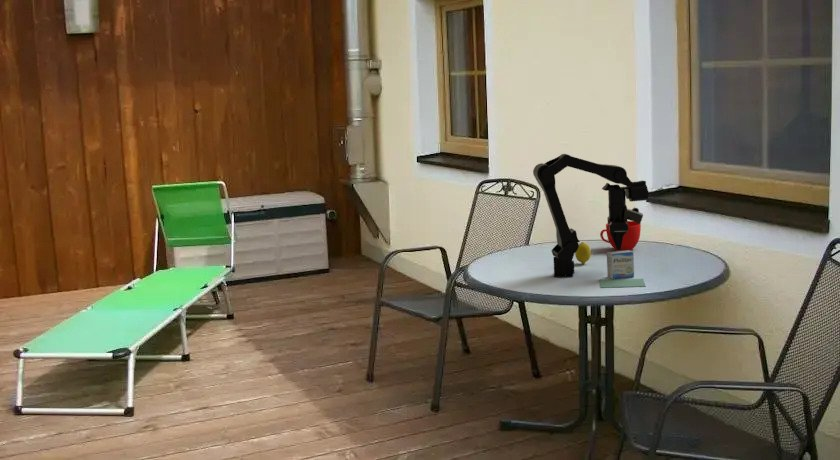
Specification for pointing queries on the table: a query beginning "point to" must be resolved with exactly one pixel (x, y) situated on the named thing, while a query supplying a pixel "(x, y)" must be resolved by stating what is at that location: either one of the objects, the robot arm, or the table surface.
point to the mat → (622, 283)
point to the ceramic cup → (625, 236)
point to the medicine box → (620, 264)
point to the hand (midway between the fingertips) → (618, 247)
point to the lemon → (583, 253)
